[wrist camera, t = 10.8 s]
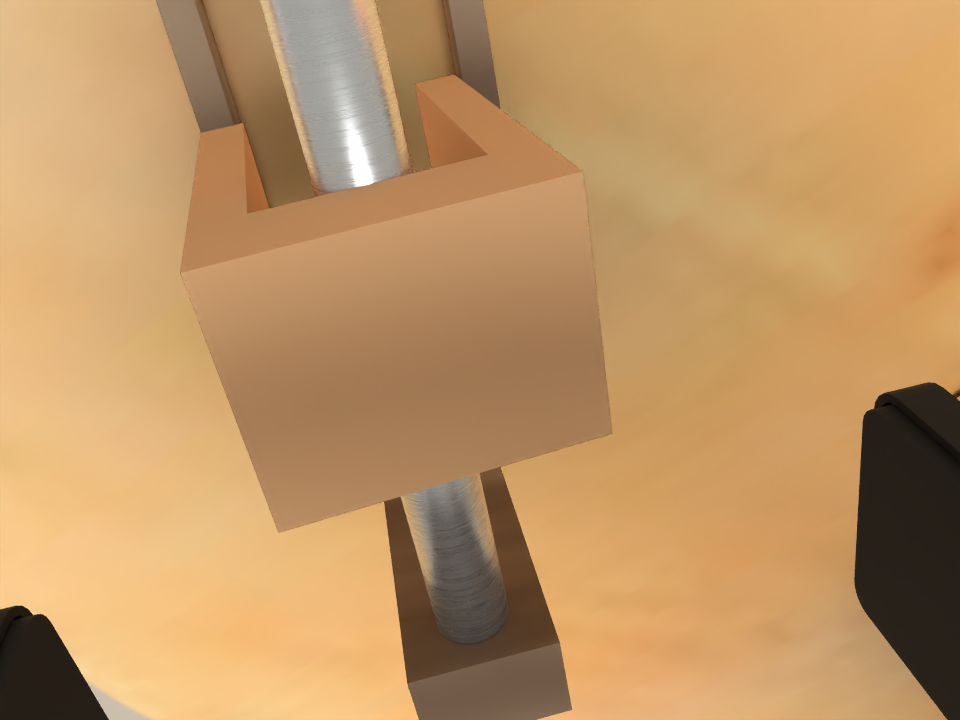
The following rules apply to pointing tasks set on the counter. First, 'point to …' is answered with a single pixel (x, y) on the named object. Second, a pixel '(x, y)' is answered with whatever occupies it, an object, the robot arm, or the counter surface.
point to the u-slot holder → (400, 312)
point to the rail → (360, 161)
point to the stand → (427, 653)
